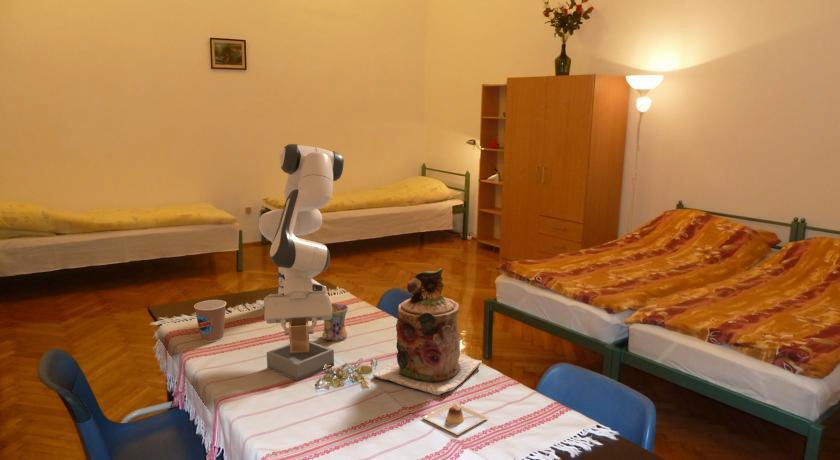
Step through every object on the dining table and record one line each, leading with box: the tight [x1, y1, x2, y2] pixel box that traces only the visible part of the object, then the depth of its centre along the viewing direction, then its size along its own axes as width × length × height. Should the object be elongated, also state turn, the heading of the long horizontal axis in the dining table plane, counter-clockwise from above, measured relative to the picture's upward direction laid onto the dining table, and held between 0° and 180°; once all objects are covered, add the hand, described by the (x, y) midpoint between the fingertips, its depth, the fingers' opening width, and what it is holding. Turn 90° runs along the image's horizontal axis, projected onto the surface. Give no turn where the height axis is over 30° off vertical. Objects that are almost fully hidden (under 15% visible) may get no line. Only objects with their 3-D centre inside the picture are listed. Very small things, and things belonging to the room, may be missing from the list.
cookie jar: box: [372, 268, 482, 396], centre depth 175 cm, size 25×25×32 cm
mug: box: [321, 303, 349, 342], centre depth 206 cm, size 12×9×11 cm
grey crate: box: [266, 340, 335, 382], centre depth 182 cm, size 14×14×5 cm
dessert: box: [421, 401, 490, 436], centre depth 151 cm, size 12×12×5 cm
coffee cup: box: [193, 299, 227, 343], centre depth 204 cm, size 10×10×12 cm
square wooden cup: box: [288, 319, 310, 353], centre depth 180 cm, size 6×6×8 cm
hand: (299, 333), depth 180 cm, fingers closed on square wooden cup, 5 cm apart
